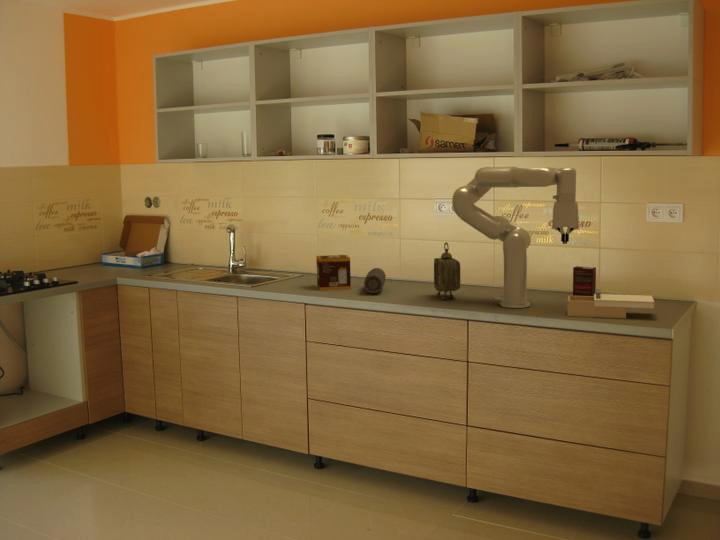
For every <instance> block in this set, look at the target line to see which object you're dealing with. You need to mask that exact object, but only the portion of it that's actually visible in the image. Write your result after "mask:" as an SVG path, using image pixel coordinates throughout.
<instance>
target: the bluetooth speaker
mask: <svg viewBox="0 0 720 540" xmlns="http://www.w3.org/2000/svg"><path fill="white" fill-rule="evenodd" d="M386 279H387V278H386V273H385V271H384V270H383V269H382V268H379V267H375V268H372V269H371V270H369V271H368V272H367V275H366V276H365V278H364V280H363V281H364V282H363V286H364V288H365V290H366V291H367V292H369V293H370V294H379V292H380V291H381V290H382V288H383V287H384V285H385V282H386Z"/></svg>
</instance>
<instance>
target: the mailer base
mask: <svg viewBox="0 0 720 540" xmlns="http://www.w3.org/2000/svg"><path fill="white" fill-rule="evenodd" d="M566 309H567V313H566V314H567V317H581V318H582V317H583V318H584V317H585V318H605V319H607V318H610V319H627V307H603V306H594V296H573V295H568V297H567V308H566Z"/></svg>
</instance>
